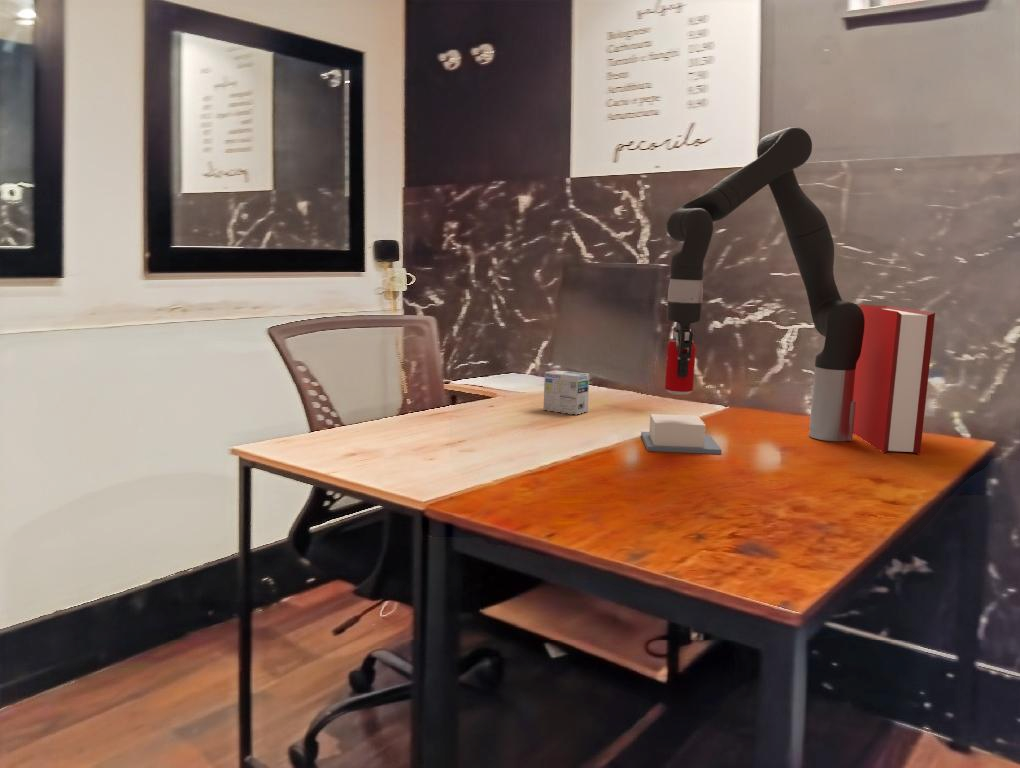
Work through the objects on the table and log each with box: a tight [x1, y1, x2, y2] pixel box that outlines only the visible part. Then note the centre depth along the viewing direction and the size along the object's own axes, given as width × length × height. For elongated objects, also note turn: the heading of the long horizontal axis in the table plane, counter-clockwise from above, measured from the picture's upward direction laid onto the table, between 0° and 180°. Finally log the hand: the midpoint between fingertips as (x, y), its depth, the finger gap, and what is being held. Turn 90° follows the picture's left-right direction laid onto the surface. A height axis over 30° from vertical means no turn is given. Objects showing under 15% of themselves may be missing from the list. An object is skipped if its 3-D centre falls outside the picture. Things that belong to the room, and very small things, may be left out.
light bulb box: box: [543, 369, 590, 416], centre depth 228 cm, size 11×7×11 cm, turn 58°
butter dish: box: [640, 413, 722, 455], centre depth 191 cm, size 16×16×6 cm
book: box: [853, 304, 936, 455], centre depth 200 cm, size 27×8×32 cm, turn 175°
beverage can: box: [664, 338, 697, 396], centre depth 188 cm, size 6×6×12 cm
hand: (680, 374), depth 189 cm, fingers closed on beverage can, 6 cm apart
